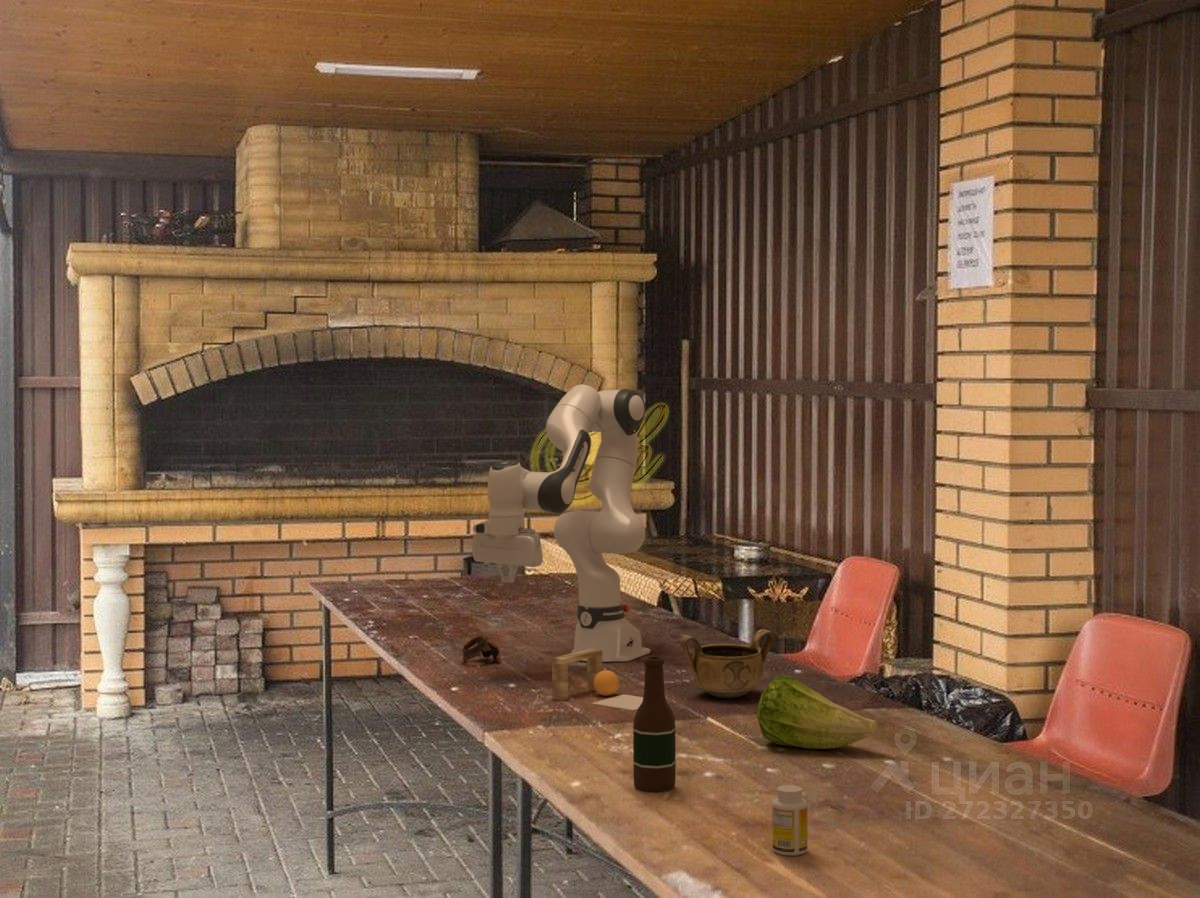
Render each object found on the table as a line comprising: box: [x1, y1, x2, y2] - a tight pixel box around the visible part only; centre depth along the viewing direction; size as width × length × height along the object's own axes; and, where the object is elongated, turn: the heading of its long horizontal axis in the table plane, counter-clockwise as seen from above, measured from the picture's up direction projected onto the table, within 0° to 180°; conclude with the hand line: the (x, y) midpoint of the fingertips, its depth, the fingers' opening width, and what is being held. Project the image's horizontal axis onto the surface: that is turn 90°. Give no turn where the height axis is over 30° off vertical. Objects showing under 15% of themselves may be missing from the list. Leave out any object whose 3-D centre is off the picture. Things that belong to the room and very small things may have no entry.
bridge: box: [551, 649, 603, 702], centre depth 372 cm, size 3×15×10 cm, turn 142°
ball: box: [594, 669, 620, 697], centre depth 371 cm, size 6×6×6 cm
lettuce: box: [756, 674, 878, 750], centre depth 319 cm, size 14×24×15 cm
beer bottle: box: [632, 656, 677, 793], centre depth 290 cm, size 8×8×24 cm
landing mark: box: [591, 694, 643, 712], centre depth 363 cm, size 12×12×1 cm
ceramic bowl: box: [679, 628, 774, 699], centre depth 370 cm, size 22×17×15 cm
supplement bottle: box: [771, 784, 809, 857], centre depth 251 cm, size 6×6×10 cm
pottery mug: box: [461, 634, 502, 665], centre depth 414 cm, size 12×10×8 cm
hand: (508, 582), depth 391 cm, fingers closed
